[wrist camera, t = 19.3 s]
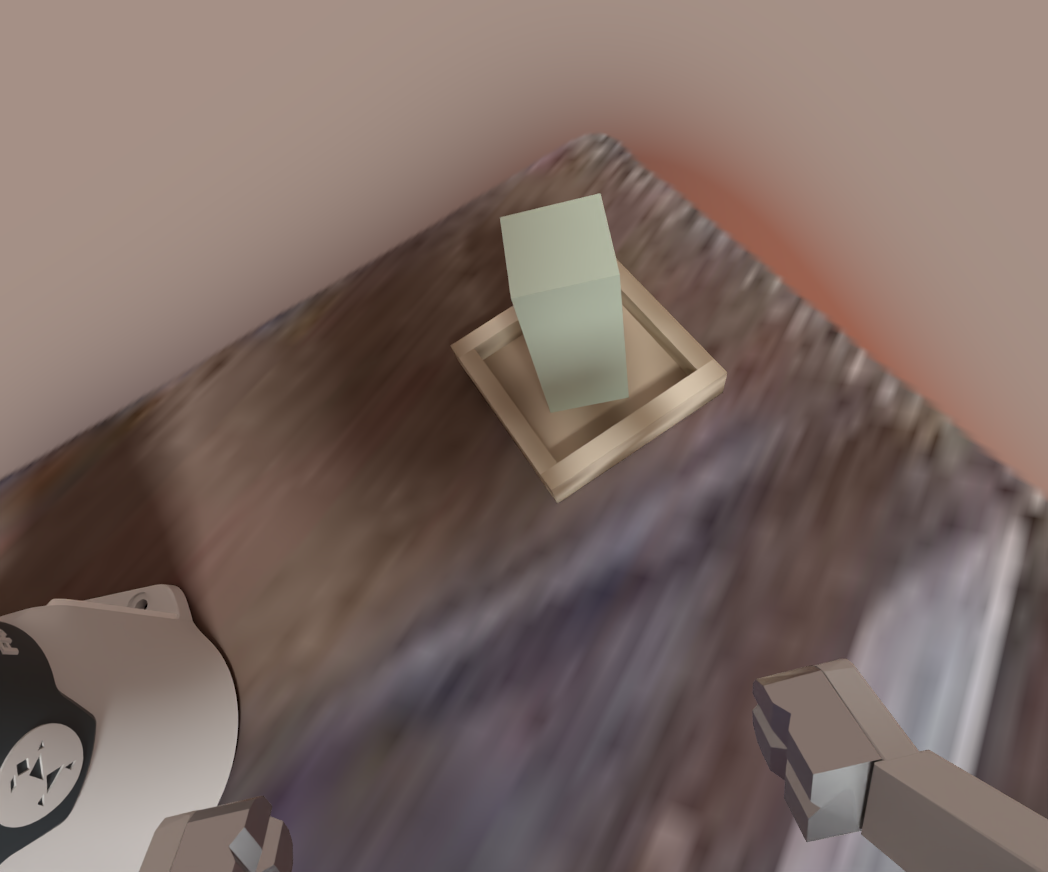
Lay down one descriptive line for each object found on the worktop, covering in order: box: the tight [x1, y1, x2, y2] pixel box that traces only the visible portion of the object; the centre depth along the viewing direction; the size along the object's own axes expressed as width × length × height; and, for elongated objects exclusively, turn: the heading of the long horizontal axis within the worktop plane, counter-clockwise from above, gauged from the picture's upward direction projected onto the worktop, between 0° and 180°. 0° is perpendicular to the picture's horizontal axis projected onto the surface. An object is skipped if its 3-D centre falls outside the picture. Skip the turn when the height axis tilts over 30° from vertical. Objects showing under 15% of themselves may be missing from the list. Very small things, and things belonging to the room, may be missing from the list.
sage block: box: [500, 194, 629, 413], centre depth 34 cm, size 5×5×12 cm
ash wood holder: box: [451, 259, 727, 503], centre depth 38 cm, size 12×12×2 cm
